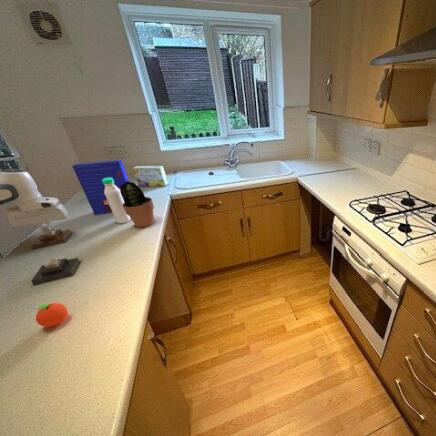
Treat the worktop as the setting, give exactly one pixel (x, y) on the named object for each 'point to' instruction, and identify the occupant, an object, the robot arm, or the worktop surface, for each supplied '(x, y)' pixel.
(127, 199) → the potted plant
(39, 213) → the robot arm
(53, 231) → the back key
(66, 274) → the dark slab
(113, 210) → the water bottle
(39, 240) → the reddish brown slab
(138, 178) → the snack box
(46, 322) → the tomato
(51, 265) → the front key
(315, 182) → the worktop surface
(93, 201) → the cereal box
